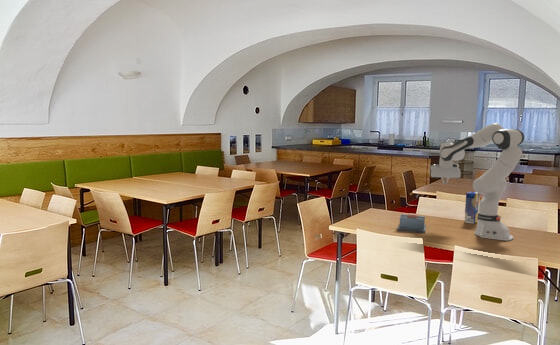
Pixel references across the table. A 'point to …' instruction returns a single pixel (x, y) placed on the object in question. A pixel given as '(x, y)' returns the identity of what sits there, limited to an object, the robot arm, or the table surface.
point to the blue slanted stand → (411, 225)
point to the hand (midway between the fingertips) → (445, 183)
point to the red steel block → (412, 215)
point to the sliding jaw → (417, 217)
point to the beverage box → (471, 207)
